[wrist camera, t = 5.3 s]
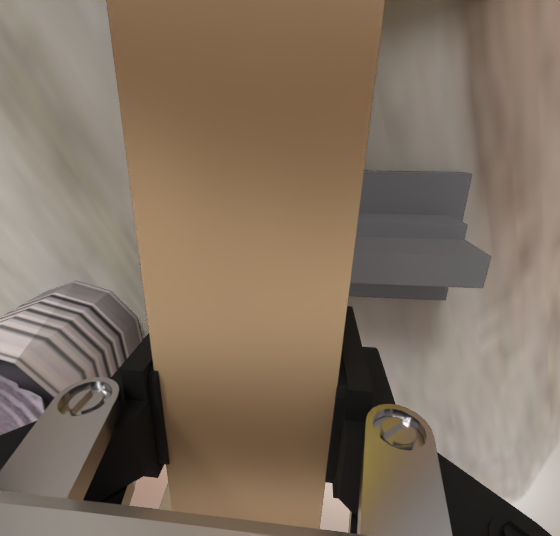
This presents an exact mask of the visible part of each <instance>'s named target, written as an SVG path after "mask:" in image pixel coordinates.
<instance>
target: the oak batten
mask: <svg viewBox="0 0 560 536" xmlns="http://www.w3.org/2000/svg"><path fill="white" fill-rule="evenodd" d="M106 2H107V10H108V17H109V25H110V33H111V41H112V48H113V56H114V64H115V72H116V79H117V87H118V95H119V103H120V110H121V118H122V126H123V134H124V142H125V149H126V157H127V165H128V173H129V180H130V188H131V196H132V204H133V211H134V219H135V227H136V235H137V242H138V250H139V258H140V266H141V273H142V281H143V289H144V297H145V304H146V312H147V320H148V328H149V335H150V343H151V351H152V359H153V367H154V371H158V373H159V381H160V389H161V397H162V405H163V413H164V421H165V429H166V437H167V446H168V454H169V462H170V464H168V465H167V464H166V467H167V475H168V483H169V491H170V498H171V506H172V511H177V512H185V513H194V514H202V515H210V516H218V517H226V518H235V519H243V520H251V521H259V522H267V523H275V524H283V525H291V526H298V527H306V528H314V529H320V522H321V513H322V505H323V497H324V489H325V477H326V469H327V461H328V453H329V444H330V436H331V428H332V420H333V412H334V404H335V396H336V387H337V384H338V376H339V368H340V360H341V352H342V344H343V336H344V328H345V320H346V312H347V303H348V295H349V287H350V279H351V271H352V263H353V255H354V247H355V239H356V231H357V223H358V215H359V206H360V198H361V190H362V182H363V174H364V166H365V158H366V150H367V142H368V134H369V126H370V118H371V109H372V101H373V93H374V85H375V77H376V69H377V61H378V53H379V45H380V37H381V29H382V20H383V12H384V4H385V0H106Z"/></svg>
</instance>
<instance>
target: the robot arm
mask: <svg viewBox="0 0 560 536" xmlns="http://www.w3.org/2000/svg"><path fill="white" fill-rule="evenodd" d="M164 464H167V465H168V464H170V462H169V454H168V446H167V437H166V429H165V421H164V413H163V405H162V397H161V389H160V381H159V373H158V371H154V367H153V359H152V351H151V343H150V335H149V334H148V335H147V336H146V337H145V338H144V339H143V341H142V342H141V343H140V344H139V345H138V346H137V348H136V349H135V350H134V351H133V352H132V353H131V355H130V356H129V357H128V358H127V359H126V360H125V362H124V363H123V364H122V365H121V366H120V367H119V369H118V370H117V371H116V372H115V373H114V374H113V376H112V377H111V378H110V379H109V378H104V377H96V378H89V379H85V380H82V381H79V382H76V383H74V384H72V385H70V386H68V387H67V388H65V389H64V390H62V391H61V392H60V393H59V394H58V395H57V396H56V397H55V398H54V399H53V400H52V402H51V403H50V404H49V406H48V407H47V408H46V410H45V411H44V412H43V414H42V415H41V416H40V418H39V419H38V420H37V421H34V422H32V423H30V424H27V425H25V426H22V427H20V428H17V429H15V430H12V431H10V432H7V433H5V434H2V435H0V536H551V535H550V534H549V533H548V532H547V531H545V530H544V529H543V528H542V527H541V526H540V525H538V524H537V523H536V522H534V521H533V520H532V519H530V518H529V517H527V516H526V515H524V514H523V513H522V512H520V511H519V510H518V509H516V508H515V507H513V506H512V505H511V504H509V503H508V502H506V501H505V500H504V499H502V498H501V497H499V496H498V495H497V494H495V493H494V492H492V491H491V490H489V489H488V488H487V487H485V486H484V485H482V484H481V483H480V482H478V481H477V480H475V479H474V478H473V477H471V476H470V475H468V474H467V473H466V472H464V471H463V470H461V469H460V468H459V467H457V466H456V465H454V464H453V463H452V462H450V461H449V460H447V459H446V458H444V457H443V456H442V455H440V454H439V453H437V450H436V444H435V439H434V435H433V432H432V430H431V428H430V426H429V425H428V424H427V422H426V421H425V420H424V419H423V418H422V417H421V416H419V415H418V414H417V413H415V412H413V411H412V410H410V409H408V408H405V407H402V406H399V405H395V401H394V398H393V395H392V392H391V389H390V386H389V383H388V380H387V377H386V374H385V370H384V367H383V364H382V361H381V358H380V355H379V352H378V350H377V348H372V347H362V344H361V340H360V336H359V332H358V328H357V324H356V320H355V316H354V312H353V308H352V307H350V306H347V312H346V320H345V328H344V336H343V344H342V352H341V360H340V368H339V376H338V384H337V387H336V396H335V404H334V412H333V420H332V428H331V436H330V444H329V453H328V461H327V469H326V477H325V482H329V483H333V497H334V498H339V499H340V500H341V501H342V502H343V504H344V505H345V506H346V507H347V508H349V510H350V519H349V532H348V533H345V532H338V531H330V530H321V529H314V528H306V527H298V526H291V525H283V524H275V523H267V522H259V521H251V520H243V519H235V518H226V517H218V516H210V515H202V514H194V513H185V512H177V511H169V510H160V509H152V508H144V507H135V506H129V505H130V501H131V498H132V495H133V492H134V489H135V482H136V480H137V479H139V478H141V477H143V476H147V477H155V478H158V476H159V474H160V472H161V470H162V468H163V465H164Z"/></svg>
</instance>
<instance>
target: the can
mask: <svg viewBox="0 0 560 536" xmlns="http://www.w3.org/2000/svg"><path fill="white" fill-rule="evenodd" d="M142 341H143V340H142V336H141V331H140V327H139V322H138V317H137V316H136V315H135V314H134V313H133V312H132V311H131V310H130V309H129V308H128V307H127V306H126V305H125V304H124V303H123V302H122V301H121V300H120V299H119V298H118V297H117V296H116V295H115V294H114V293H113V292H112V291H109V290H106V289H102V288H99V287H96V286H92V285H89V284H85V283H82V282H78V281H74V282H71V283H68V284H65V285H63V286H60V287H57V288H54V289H51V290H48V291H46V292H44V293H43V294H41V295H39V296H37V297H35V298H34V299H32V300H30V301H28V302H27V303H25V304H23V305H21V306H19V307H18V308H16V309H14V310H12V311H10V312H9V313H7V314H5V315H3V316H2V317H0V435H2V434H5V433H7V432H10V431H12V430H15V429H17V428H20V427H22V426H25V425H27V424H30V423H32V422H34V421H37V420H38V419H39V418H40V416H41V415H42V414H43V412H44V411H45V410H46V408H47V407H48V406H49V404H50V403H51V402H52V400H53V399H54V398H55V397H56V396H57V395H58V394H59V393H60V392H61V391H62V390H64V389H65V388H67V387H68V386H70V385H72V384H74V383H76V382H79V381H82V380H85V379H89V378H96V377H104V378H109V379H110V378H111V377H112V376H113V374H114V373H115V372H116V371H117V370H118V369H119V367H120V366H121V365H122V364H123V363H124V362H125V360H126V359H127V358H128V357H129V356H130V355H131V353H132V352H133V351H134V350H135V349H136V348H137V346H138V345H139V344H140V343H141V342H142Z"/></svg>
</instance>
